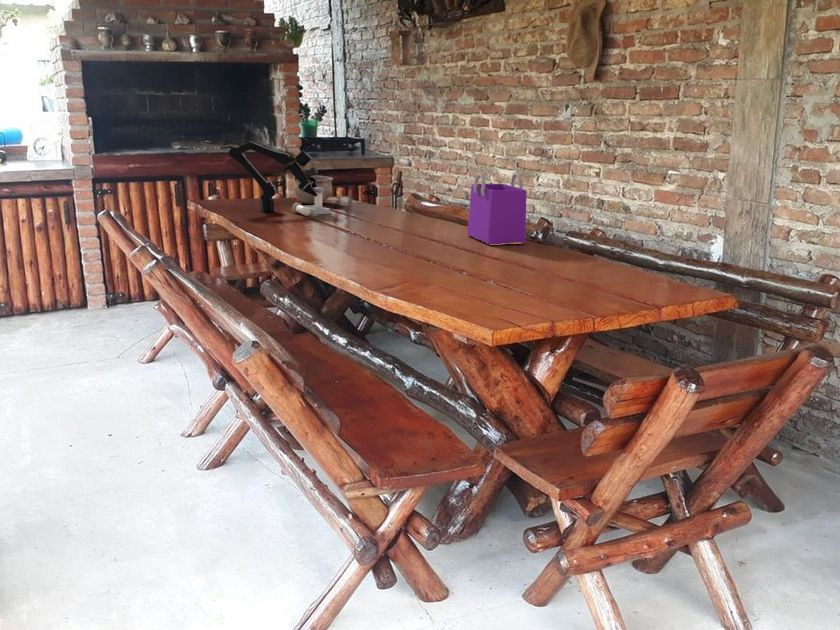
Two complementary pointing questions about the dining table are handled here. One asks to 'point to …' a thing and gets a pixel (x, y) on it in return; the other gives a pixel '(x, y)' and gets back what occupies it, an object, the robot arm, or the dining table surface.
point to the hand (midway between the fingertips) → (318, 195)
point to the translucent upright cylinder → (318, 197)
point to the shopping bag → (497, 211)
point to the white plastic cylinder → (301, 209)
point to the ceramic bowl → (321, 182)
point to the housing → (318, 210)
